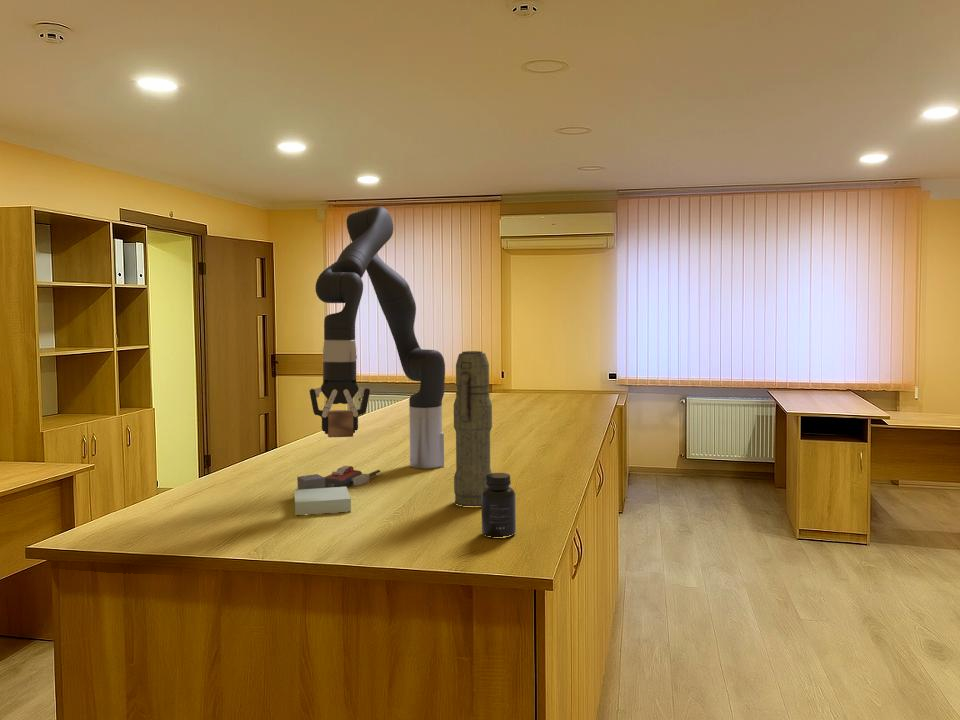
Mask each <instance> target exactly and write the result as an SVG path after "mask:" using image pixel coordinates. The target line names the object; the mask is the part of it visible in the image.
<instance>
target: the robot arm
mask: <svg viewBox="0 0 960 720" xmlns="http://www.w3.org/2000/svg"><path fill="white" fill-rule="evenodd" d="M346 229H347V233H348V235H349V238H350V240H351V242H350V243H349V244H348V245H347V246H346V247H344V249H343V250H342V251H341V253H340V255H339V257H337V260H336V261H334V263H332V264H331V265H329V266H328V267H326V268H325V269H324V270H323V271H322V272H321V273H320V274H319V276H318V278H316V282H315V287H314V288H315V295H316V297H317V298H318V299H319V300H320V301H322V302H323V303H326V304H344V306H343V308H342V309H341V311H338V312H335V313H330V314H327V315H326V316H325V317H324V318H323V319H324V321H323V322H324V323H323V329H324V330H323V345H322V346H323V347H322V384H321V386H320V387H316V388H310V389H309V397H310V401H311V407H312V412H313V414H314V415H315V416H319V417H320V418H321V431H322V432H324V434H325V435H327V434H328V417H327V415H328V412H329V410H331V408H332V407H333V405H339V404H341V405H342V404H343V405H348V408H349V410H351V412H353V434H355V433H356V431H358V429H359V416H361V415H364V414H366V413H367V408H368V403H369V399H370V393H371V390H370V388H368V387H361V386H359V385H358V383H357V360H358V357H357V356H358V355H357V346H356V322H357V321H356V320H357V314H358V311H359V306H360V304H361V300H362V296H363V292H364V282H363V279H362V278H363V276H364V275H365V272H367V275H368V277H369V279H370V282H371V285H372V287H373V291H374V292H375V295H376V298H377V301H378V303H379V306H380V308H381V310H382V313H383V315H384V317H385V320H386V322H387V324H388V327H389V330H390V333H391V335H392V338H393V341H394V345H395V347H396V350H397V354H398V357H399V360H400V361H399V362H400V364H401V368H402V370H403V372H404V374H405V376H406V378H407V379H409V380H410V381H414V382H420V383H419V385H420V386H419V390H418V391H417V392H416V393H414V394H411V395H410V396H409V399H408V401H409V402H408V406H409V408H408V411H409V412H408V413H409V416H408V417H409V466H410V467H411V468H414V469H425V470H426V469H435V468H440V467H445V437H444V436H445V435H444V432H443V414H442V413H443V398H444V395H445V387H446V385H445V384H446V383H445V382H446V381H445V380H446V363H445V359H444V356H443V354H442V352H440V351H439V350H436V349H422V348H421V346H420V344H419V342H418V340H417V337H416V334H415V322H416V315H417V306H416V300H415V298H414V295H413V293H412V290H411V287H410V285H409V282H408V281H407V280H406V279H405V278H404V277H403V276H402V275H400V274H399V273H398V272H397V271H396V270H394V269H393V268H392V267H390V266H389V265H388V264H387V263H386V262H384V261H383V259H382V258H381V257H380V255H378V253H379V251H380V250H381V249H382V248H383V247H384V246H385V245H386V244H387V243H388V242H389V240H390V239H391V238H392V236H393V234H394V224H393V219H392V216H391V215H390V212H389V210H387V209H386V208H385V207H383V206H375V207H371V208H366V209H363V210H360V211H356V212H353V213H350V214H349V215H348V216H347V218H346ZM320 393H322V394H323V395H324V396H325V398H326V401H325V403H324V406H323V408H322V409H320V408H319V403H318V400H317V398H319V397H320ZM357 393H359V396H360V397H361V402H360V405H359V406H360V408H356V406H355V403H354V401H353V398H355V396H356V394H357Z"/></svg>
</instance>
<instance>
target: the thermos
mask: <svg viewBox="0 0 960 720" xmlns="http://www.w3.org/2000/svg"><path fill="white" fill-rule="evenodd" d="M486 354H487V353H485V352H483V351H479V350H476V351H475V350H472V351H471V350H467V351H462V352H461V353H459V354H458V357H457V360H456V363H455V386H456V392H455V399H454V402H453V429H454V430H455V431H454V432H455V455H456V456H455V464H456V465H455V466H456V467H455V468H456V471H455V472H454V477H453V490H454V491H453V492H454V495H455V497H454V499H455V500H454V504H455V503H456V504H458V505H462V506H481V493H482V491H483V490H484V489H485V488H486V487H487V485H486V475H487V474H491V473H493V472H492V469H491V430H492V428H493V405H492V401H491V397H490V392H489V386H490V363H489V360H488V357H487V355H486ZM456 504H455V505H456Z"/></svg>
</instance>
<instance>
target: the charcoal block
mask: <svg viewBox="0 0 960 720" xmlns="http://www.w3.org/2000/svg"><path fill="white" fill-rule="evenodd" d="M325 477H326V476H322V475H320V474H317V473H313V474H308V475H300V476H299V475H298V476H297V478H296V480H297V481H296V482H297V490H301V489H316V488H325Z"/></svg>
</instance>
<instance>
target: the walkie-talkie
mask: <svg viewBox="0 0 960 720" xmlns="http://www.w3.org/2000/svg"><path fill="white" fill-rule="evenodd" d="M379 473H381V470H380V469H377V470H375V471H372V472H370V473H363V472H362V470H361V471H360V470H359V469H357V470H356V469H354V467H353V466H352V465H342V466H340V467H338V468H337V469H336V471H331V474H328V475H326V476H324V477H325V488H331V487H347V489H348V488H350V487H355V486H356V485H357V486H362V485H364V484H366V483H369V482H370V478H373V477H375V476H376V475H377V474H379ZM357 486H356V487H357Z"/></svg>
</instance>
